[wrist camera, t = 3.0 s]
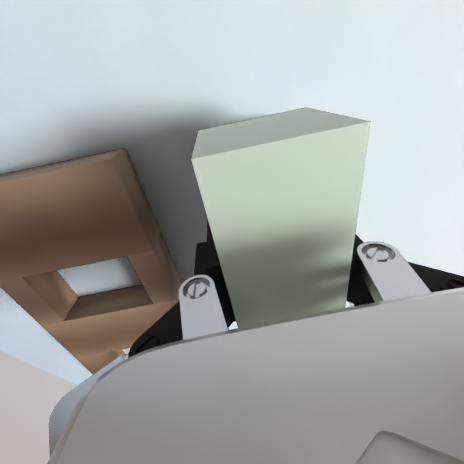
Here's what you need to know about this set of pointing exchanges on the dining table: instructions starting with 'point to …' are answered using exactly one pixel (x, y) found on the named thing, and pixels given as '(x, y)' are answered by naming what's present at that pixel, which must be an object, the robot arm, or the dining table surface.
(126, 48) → the dining table surface
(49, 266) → the brown wooden board
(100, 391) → the robot arm
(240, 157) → the tall sage green block
